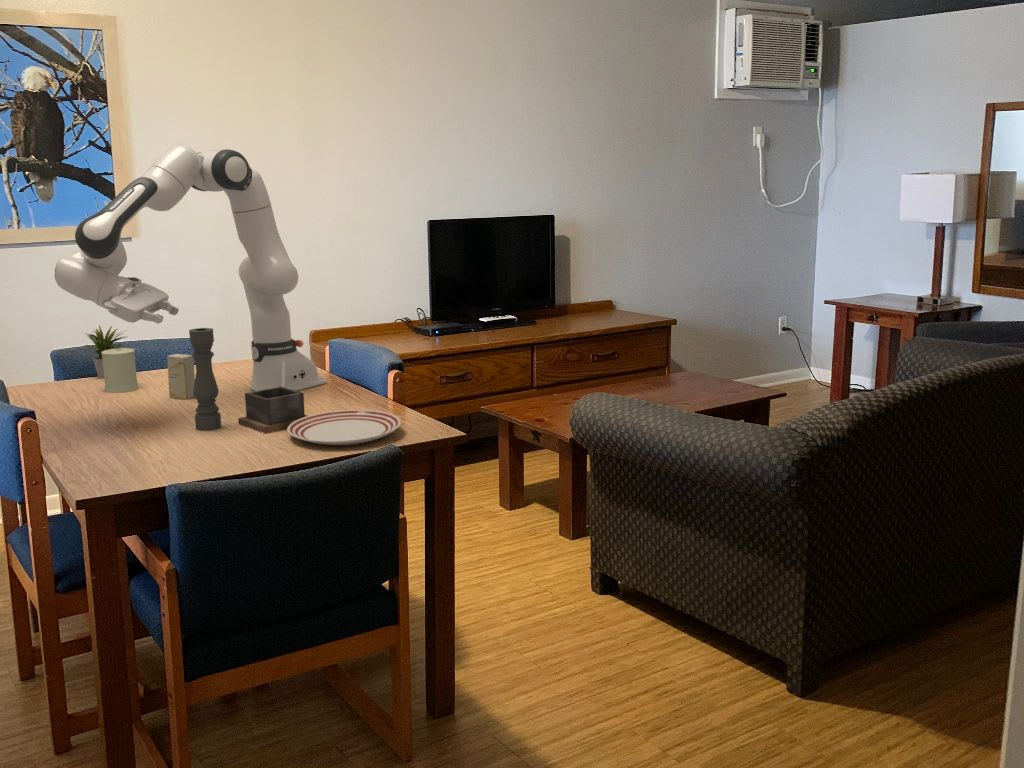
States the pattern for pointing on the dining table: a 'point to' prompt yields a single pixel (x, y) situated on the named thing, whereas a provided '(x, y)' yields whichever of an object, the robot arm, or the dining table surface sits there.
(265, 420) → the dark square box
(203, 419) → the candle holder
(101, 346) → the house plant
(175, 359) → the skincare box
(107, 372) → the can
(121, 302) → the robot arm
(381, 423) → the dinner plate
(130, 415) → the dining table surface
